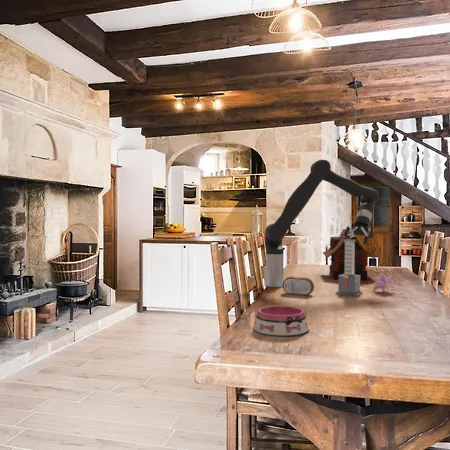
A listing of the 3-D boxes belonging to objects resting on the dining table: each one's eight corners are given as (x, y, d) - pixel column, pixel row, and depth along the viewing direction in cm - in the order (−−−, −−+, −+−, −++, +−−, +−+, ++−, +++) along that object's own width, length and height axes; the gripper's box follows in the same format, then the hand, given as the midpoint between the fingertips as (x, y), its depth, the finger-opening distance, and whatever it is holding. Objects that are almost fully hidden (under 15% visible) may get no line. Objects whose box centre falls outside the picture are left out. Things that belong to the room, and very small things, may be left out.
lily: (398, 293, 229) (390, 276, 233) (402, 288, 218) (394, 269, 222) (374, 300, 230) (367, 283, 234) (377, 295, 219) (369, 276, 223)
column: (352, 292, 219) (352, 240, 218) (343, 291, 221) (343, 239, 220) (355, 291, 222) (355, 239, 222) (346, 290, 225) (346, 239, 224)
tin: (314, 295, 218) (314, 277, 217) (312, 296, 215) (312, 278, 215) (283, 292, 224) (283, 275, 224) (281, 293, 221) (281, 276, 221)
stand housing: (355, 296, 214) (356, 276, 214) (335, 294, 220) (335, 274, 220) (362, 293, 223) (362, 274, 223) (342, 291, 229) (342, 272, 228)
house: (322, 272, 301) (322, 228, 300) (366, 273, 297) (367, 229, 296) (326, 280, 266) (326, 230, 266) (376, 281, 262) (377, 231, 262)
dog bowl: (270, 340, 141) (270, 318, 141) (243, 326, 158) (243, 306, 158) (320, 334, 148) (320, 313, 148) (289, 321, 165) (289, 302, 165)
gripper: (348, 214, 240) (340, 237, 231) (375, 215, 232) (368, 238, 223) (351, 224, 245) (343, 247, 235) (378, 225, 237) (371, 248, 228)
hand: (356, 243), depth 229 cm, fingers open, 8 cm apart
